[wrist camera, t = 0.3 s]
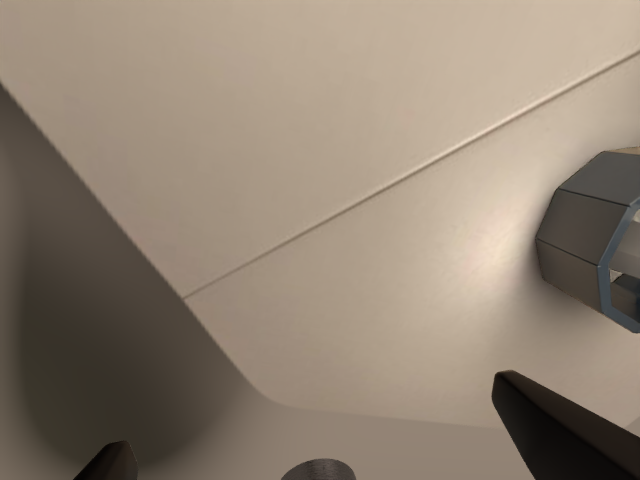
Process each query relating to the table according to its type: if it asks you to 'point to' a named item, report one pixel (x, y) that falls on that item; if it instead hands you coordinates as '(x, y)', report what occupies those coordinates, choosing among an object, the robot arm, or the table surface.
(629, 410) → the table surface
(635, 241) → the salt shaker
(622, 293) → the ring
